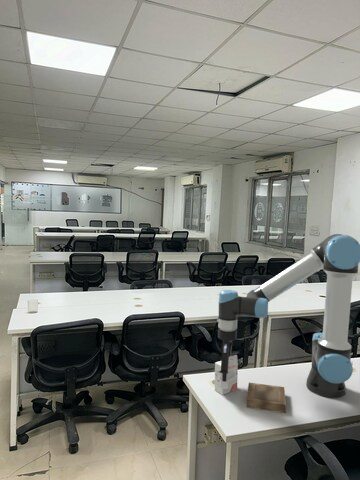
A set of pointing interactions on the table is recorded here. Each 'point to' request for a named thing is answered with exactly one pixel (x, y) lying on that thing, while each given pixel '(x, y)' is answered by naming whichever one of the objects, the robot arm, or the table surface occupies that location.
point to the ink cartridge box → (231, 375)
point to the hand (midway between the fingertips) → (225, 382)
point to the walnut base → (266, 397)
